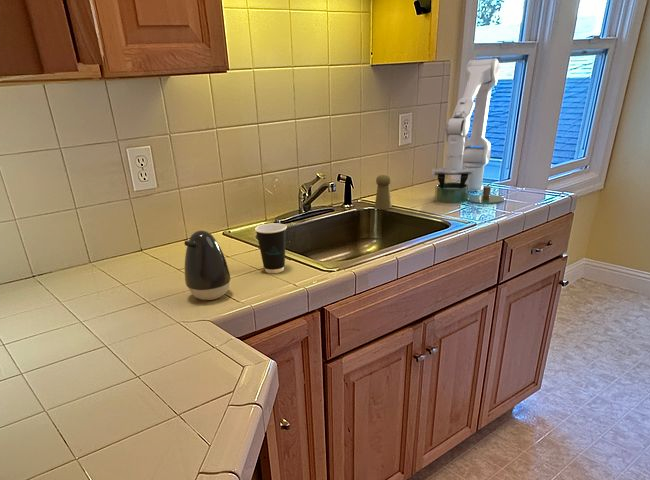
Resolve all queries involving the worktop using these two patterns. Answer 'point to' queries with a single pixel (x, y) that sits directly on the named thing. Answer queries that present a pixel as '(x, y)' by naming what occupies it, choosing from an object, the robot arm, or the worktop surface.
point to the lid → (486, 197)
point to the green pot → (451, 193)
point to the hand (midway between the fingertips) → (451, 196)
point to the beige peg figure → (383, 192)
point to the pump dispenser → (205, 267)
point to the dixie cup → (272, 246)
